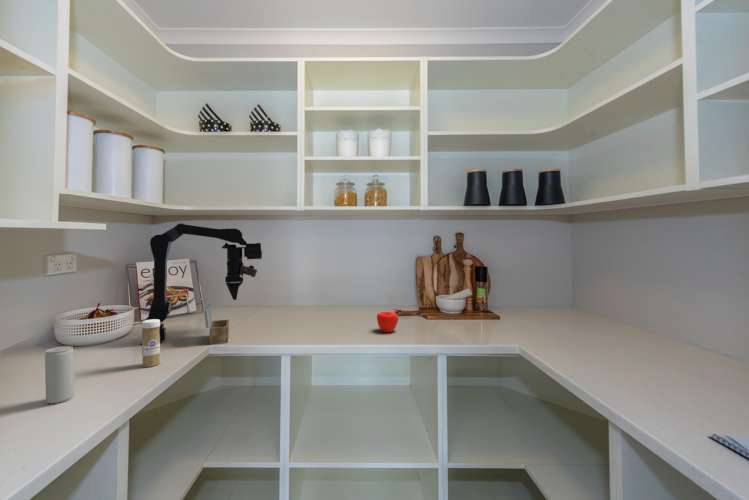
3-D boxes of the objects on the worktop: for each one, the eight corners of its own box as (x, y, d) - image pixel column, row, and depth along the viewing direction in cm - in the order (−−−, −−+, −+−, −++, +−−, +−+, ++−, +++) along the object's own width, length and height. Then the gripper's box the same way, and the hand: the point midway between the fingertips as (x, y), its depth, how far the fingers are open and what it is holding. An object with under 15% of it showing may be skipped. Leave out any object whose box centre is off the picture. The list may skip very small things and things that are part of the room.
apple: (399, 329, 139) (399, 311, 139) (395, 334, 131) (396, 315, 131) (379, 327, 141) (379, 309, 141) (374, 333, 133) (374, 314, 133)
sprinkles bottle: (146, 368, 94) (146, 322, 94) (138, 365, 97) (138, 321, 96) (163, 363, 98) (163, 319, 98) (155, 360, 101) (155, 318, 100)
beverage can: (80, 394, 78) (79, 345, 78) (61, 404, 73) (60, 352, 73) (59, 395, 78) (58, 345, 78) (39, 405, 73) (38, 352, 73)
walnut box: (209, 344, 117) (209, 328, 117) (212, 335, 128) (212, 320, 128) (227, 342, 119) (227, 326, 119) (229, 334, 130) (228, 319, 130)
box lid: (208, 327, 116) (206, 328, 116) (211, 320, 128) (209, 320, 128) (206, 310, 116) (204, 310, 116) (209, 304, 128) (207, 304, 127)
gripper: (256, 259, 125) (257, 300, 125) (255, 259, 142) (255, 294, 142) (225, 260, 121) (225, 302, 121) (227, 259, 138) (227, 296, 138)
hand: (235, 298), depth 130 cm, fingers open, 9 cm apart
